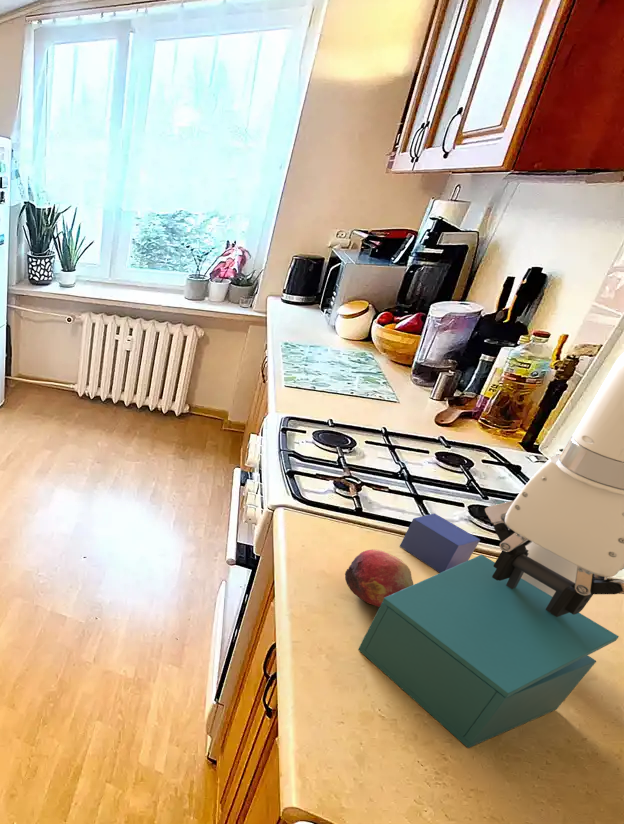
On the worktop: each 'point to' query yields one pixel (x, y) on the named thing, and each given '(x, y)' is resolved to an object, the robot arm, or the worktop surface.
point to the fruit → (377, 576)
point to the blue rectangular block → (438, 542)
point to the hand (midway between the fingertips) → (531, 592)
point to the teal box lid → (500, 622)
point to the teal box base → (459, 682)
